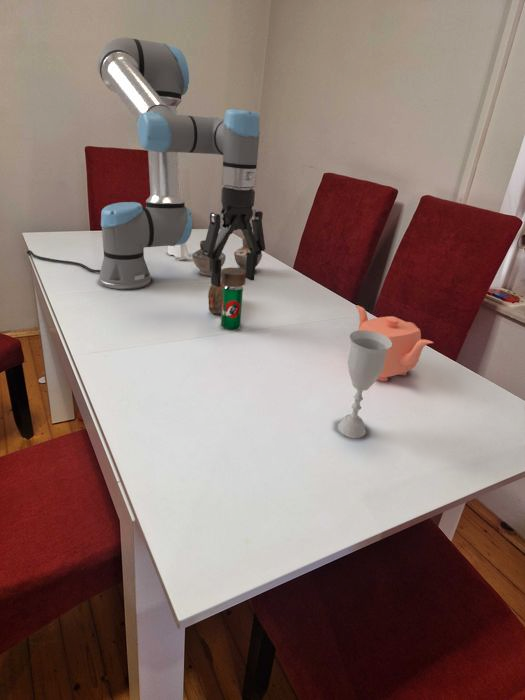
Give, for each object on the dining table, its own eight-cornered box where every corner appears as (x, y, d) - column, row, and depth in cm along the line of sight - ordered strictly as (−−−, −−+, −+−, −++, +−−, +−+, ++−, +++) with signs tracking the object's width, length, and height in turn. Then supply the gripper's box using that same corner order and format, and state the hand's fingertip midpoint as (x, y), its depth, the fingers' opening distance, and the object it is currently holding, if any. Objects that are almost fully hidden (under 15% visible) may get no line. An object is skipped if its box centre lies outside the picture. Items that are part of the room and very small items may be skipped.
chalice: (328, 416, 85) (344, 329, 76) (364, 417, 85) (383, 331, 77) (338, 441, 78) (356, 349, 70) (375, 442, 79) (398, 350, 71)
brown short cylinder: (216, 280, 112) (216, 269, 111) (235, 277, 116) (236, 266, 114) (230, 288, 108) (231, 276, 107) (250, 284, 112) (251, 272, 110)
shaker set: (189, 261, 166) (189, 231, 161) (178, 262, 164) (178, 231, 159) (177, 252, 175) (177, 223, 170) (166, 253, 173) (166, 224, 168)
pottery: (265, 275, 159) (269, 241, 154) (198, 279, 149) (198, 243, 143) (252, 265, 168) (255, 233, 163) (187, 269, 158) (188, 235, 152)
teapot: (419, 392, 95) (434, 338, 90) (340, 376, 99) (350, 323, 93) (416, 361, 108) (430, 313, 103) (347, 348, 112) (356, 300, 106)
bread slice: (217, 318, 121) (218, 288, 118) (205, 316, 122) (206, 287, 118) (231, 300, 135) (233, 272, 131) (221, 298, 135) (222, 271, 131)
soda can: (244, 327, 118) (247, 283, 112) (230, 332, 114) (232, 287, 109) (231, 321, 120) (233, 278, 115) (216, 326, 117) (218, 281, 112)
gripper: (206, 191, 92) (203, 294, 102) (286, 189, 106) (276, 279, 116) (186, 185, 97) (186, 284, 107) (265, 184, 111) (258, 271, 121)
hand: (233, 282), depth 112 cm, fingers open, 10 cm apart
